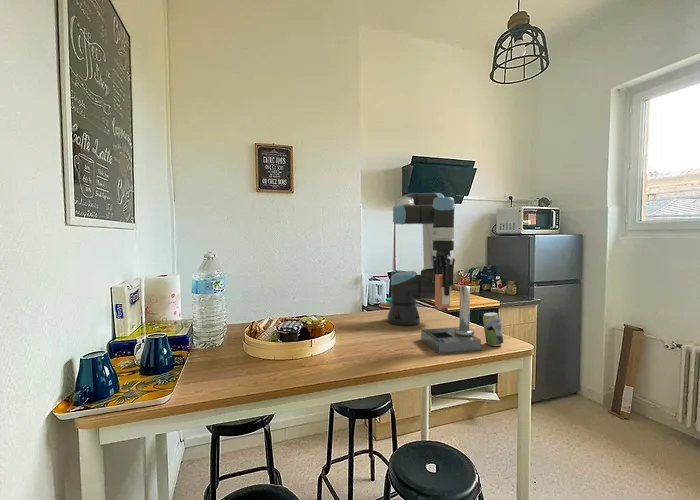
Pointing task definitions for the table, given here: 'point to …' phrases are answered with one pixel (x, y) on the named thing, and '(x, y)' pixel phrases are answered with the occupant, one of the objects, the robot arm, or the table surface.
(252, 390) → the table surface
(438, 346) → the socket base with post
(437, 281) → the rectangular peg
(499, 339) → the beverage can
